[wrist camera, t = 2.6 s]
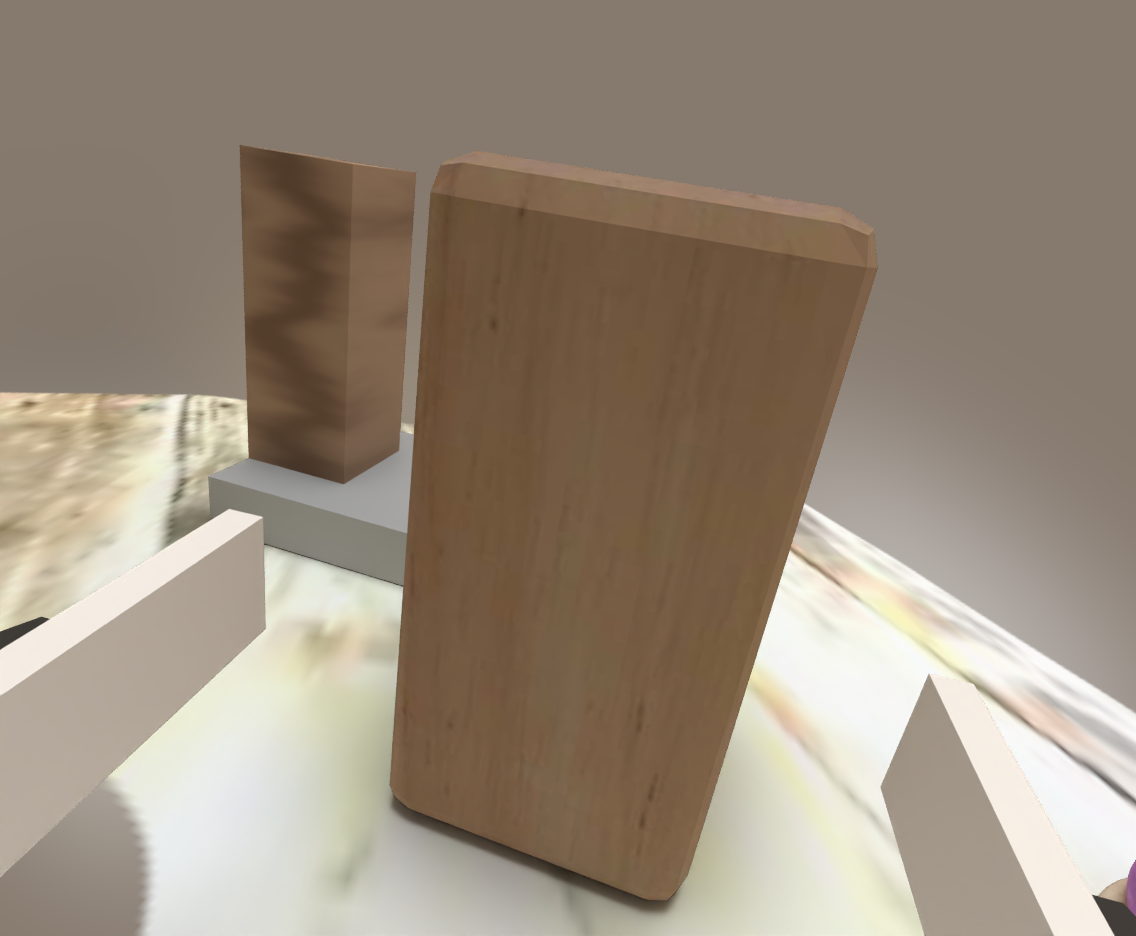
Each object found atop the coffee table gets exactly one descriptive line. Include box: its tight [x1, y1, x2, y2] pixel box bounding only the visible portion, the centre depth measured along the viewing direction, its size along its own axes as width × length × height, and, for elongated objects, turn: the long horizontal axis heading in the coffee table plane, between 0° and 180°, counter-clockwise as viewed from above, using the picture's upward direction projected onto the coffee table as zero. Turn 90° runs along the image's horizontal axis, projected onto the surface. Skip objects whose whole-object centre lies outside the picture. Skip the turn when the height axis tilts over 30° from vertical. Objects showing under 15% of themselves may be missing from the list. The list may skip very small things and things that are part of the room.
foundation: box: [208, 431, 414, 586], centre depth 39 cm, size 24×12×3 cm, turn 74°
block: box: [390, 151, 878, 900], centre depth 22 cm, size 10×10×20 cm
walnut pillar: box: [240, 145, 416, 484], centre depth 37 cm, size 6×6×16 cm
